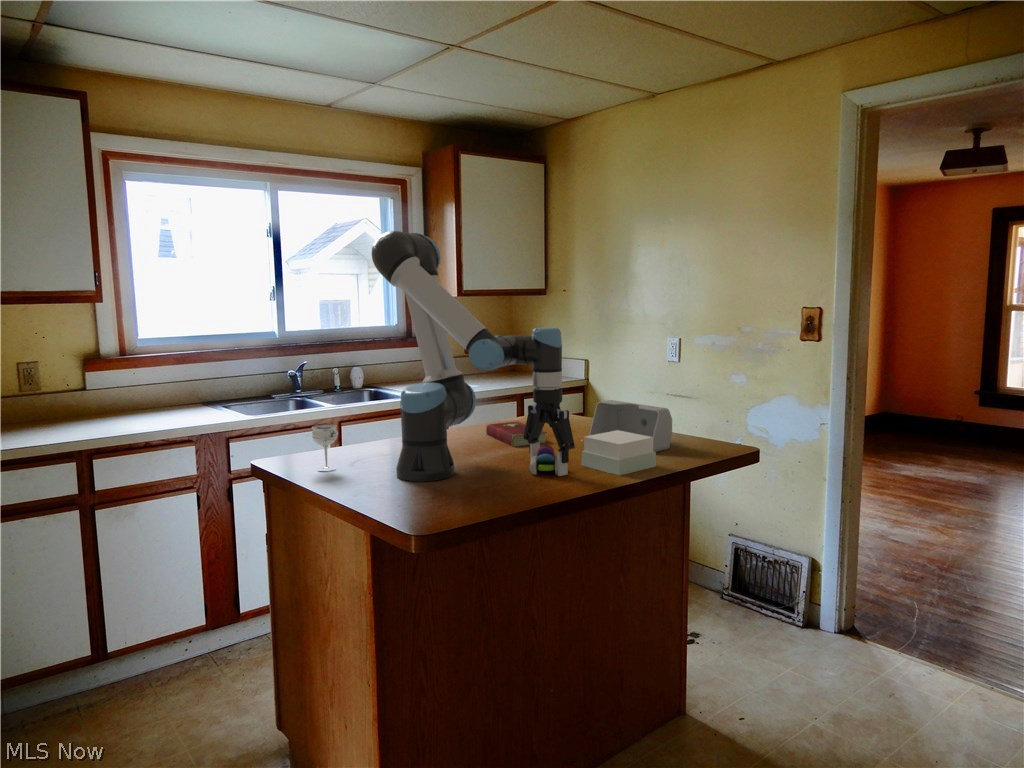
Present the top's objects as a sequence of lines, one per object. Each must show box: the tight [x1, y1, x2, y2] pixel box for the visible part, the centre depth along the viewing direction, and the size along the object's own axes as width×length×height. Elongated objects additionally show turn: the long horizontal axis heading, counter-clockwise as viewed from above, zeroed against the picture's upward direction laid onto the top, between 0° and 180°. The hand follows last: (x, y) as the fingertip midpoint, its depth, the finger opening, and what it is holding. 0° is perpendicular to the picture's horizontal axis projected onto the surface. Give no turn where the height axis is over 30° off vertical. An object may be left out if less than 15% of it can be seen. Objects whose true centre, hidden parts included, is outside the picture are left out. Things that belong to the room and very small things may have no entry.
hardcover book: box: [485, 420, 548, 448], centre depth 225 cm, size 12×21×4 cm, turn 25°
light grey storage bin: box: [588, 399, 673, 453], centre depth 214 cm, size 25×16×12 cm, turn 39°
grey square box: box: [581, 430, 657, 476], centre depth 187 cm, size 14×14×8 cm
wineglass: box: [311, 423, 339, 468], centre depth 188 cm, size 7×7×12 cm
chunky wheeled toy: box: [529, 444, 558, 476], centre depth 182 cm, size 8×10×7 cm
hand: (548, 470), depth 183 cm, fingers open, 10 cm apart
